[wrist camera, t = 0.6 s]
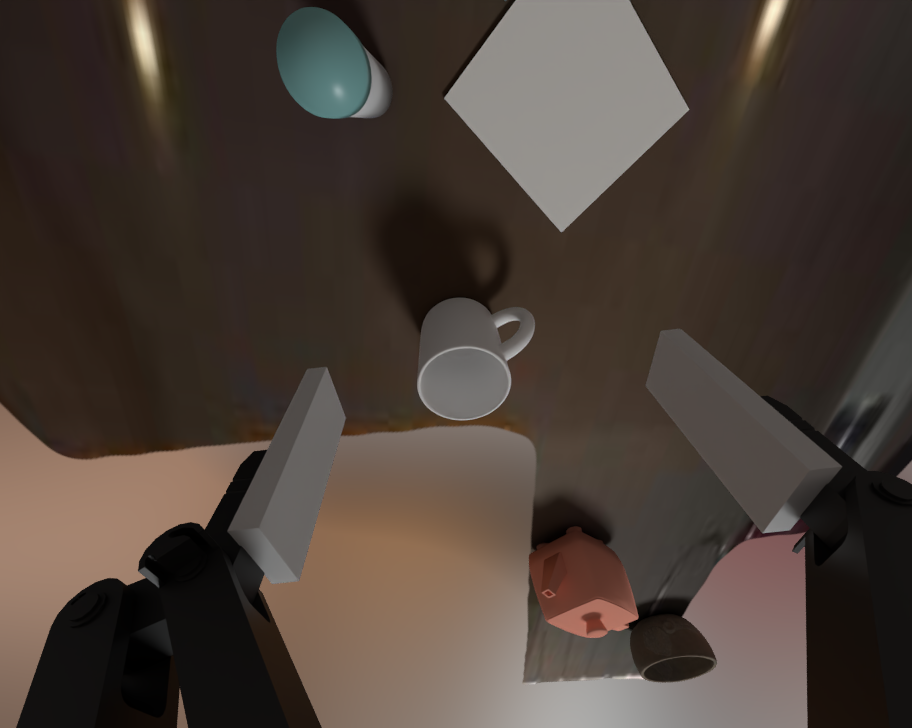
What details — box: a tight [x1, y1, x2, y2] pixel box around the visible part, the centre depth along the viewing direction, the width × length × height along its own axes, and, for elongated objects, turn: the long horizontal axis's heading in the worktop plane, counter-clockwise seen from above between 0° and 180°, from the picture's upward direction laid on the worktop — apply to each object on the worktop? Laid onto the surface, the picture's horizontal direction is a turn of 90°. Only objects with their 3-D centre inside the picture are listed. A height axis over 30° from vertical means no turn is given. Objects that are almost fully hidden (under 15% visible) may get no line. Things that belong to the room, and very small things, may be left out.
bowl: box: [630, 614, 717, 682], centre depth 85 cm, size 17×18×10 cm
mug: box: [417, 297, 535, 420], centre depth 35 cm, size 12×8×10 cm
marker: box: [277, 7, 393, 119], centre depth 22 cm, size 4×4×14 cm
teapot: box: [529, 526, 639, 638], centre depth 61 cm, size 22×13×14 cm, turn 47°
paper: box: [444, 0, 689, 232], centre depth 28 cm, size 15×13×1 cm
